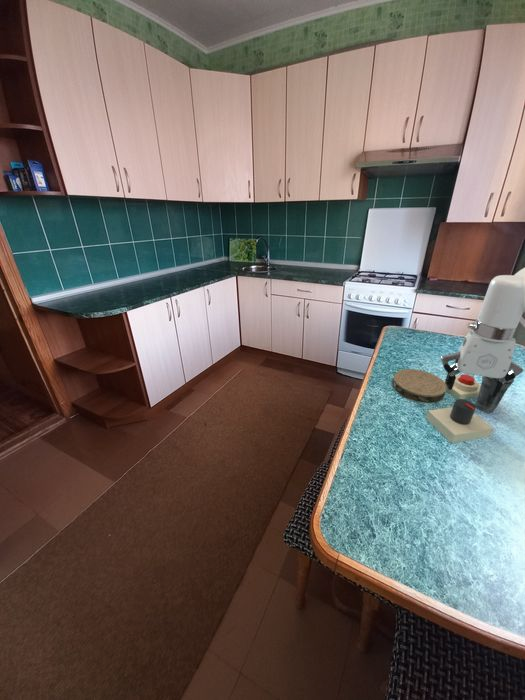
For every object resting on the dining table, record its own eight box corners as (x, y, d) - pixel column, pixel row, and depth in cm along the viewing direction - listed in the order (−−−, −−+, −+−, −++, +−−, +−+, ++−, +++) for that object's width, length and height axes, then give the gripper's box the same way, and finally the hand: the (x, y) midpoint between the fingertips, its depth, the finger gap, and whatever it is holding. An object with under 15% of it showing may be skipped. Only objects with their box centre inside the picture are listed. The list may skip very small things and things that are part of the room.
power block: (465, 382, 101) (469, 373, 99) (485, 396, 94) (489, 386, 92) (440, 386, 99) (443, 376, 97) (458, 400, 92) (462, 390, 90)
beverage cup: (466, 407, 89) (489, 349, 80) (475, 398, 93) (497, 342, 84) (495, 419, 84) (522, 359, 75) (502, 409, 88) (529, 350, 79)
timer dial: (445, 415, 81) (451, 400, 79) (458, 411, 83) (463, 396, 80) (461, 426, 77) (467, 411, 75) (474, 422, 79) (480, 406, 76)
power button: (466, 378, 97) (467, 373, 96) (476, 384, 93) (477, 380, 93) (455, 379, 96) (457, 375, 95) (465, 386, 93) (467, 381, 92)
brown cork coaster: (444, 409, 89) (447, 401, 87) (388, 394, 96) (390, 386, 94) (444, 383, 101) (446, 375, 99) (395, 372, 108) (396, 365, 106)
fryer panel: (461, 413, 87) (464, 404, 85) (490, 436, 78) (494, 427, 77) (425, 418, 85) (428, 410, 83) (451, 443, 76) (454, 434, 75)
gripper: (455, 331, 67) (435, 392, 75) (547, 341, 62) (515, 405, 70) (448, 320, 73) (430, 377, 81) (531, 328, 68) (503, 388, 76)
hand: (469, 390), depth 76 cm, fingers open, 9 cm apart
